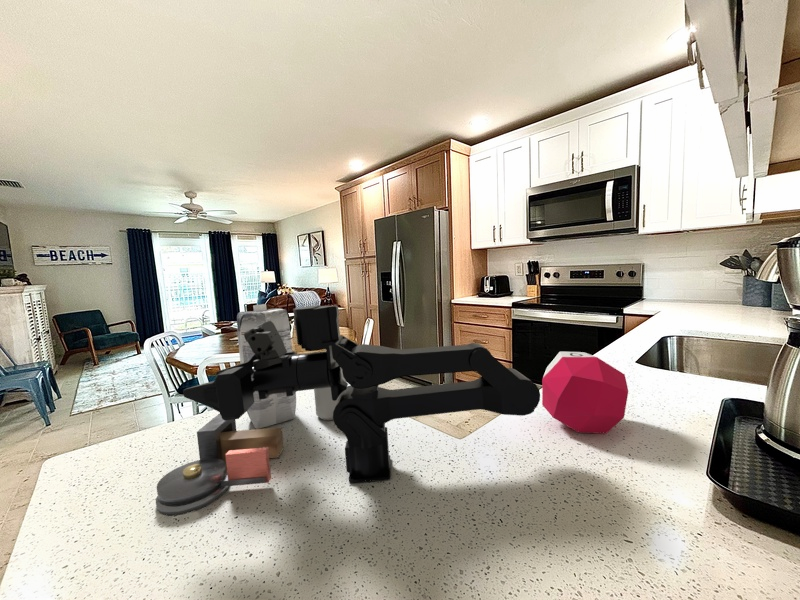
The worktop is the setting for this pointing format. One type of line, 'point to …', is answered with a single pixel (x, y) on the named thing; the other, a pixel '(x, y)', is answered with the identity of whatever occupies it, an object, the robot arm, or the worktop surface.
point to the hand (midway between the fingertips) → (202, 383)
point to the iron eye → (213, 437)
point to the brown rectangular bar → (253, 440)
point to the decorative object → (584, 392)
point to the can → (325, 402)
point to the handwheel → (214, 476)
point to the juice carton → (274, 405)
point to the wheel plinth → (190, 504)
